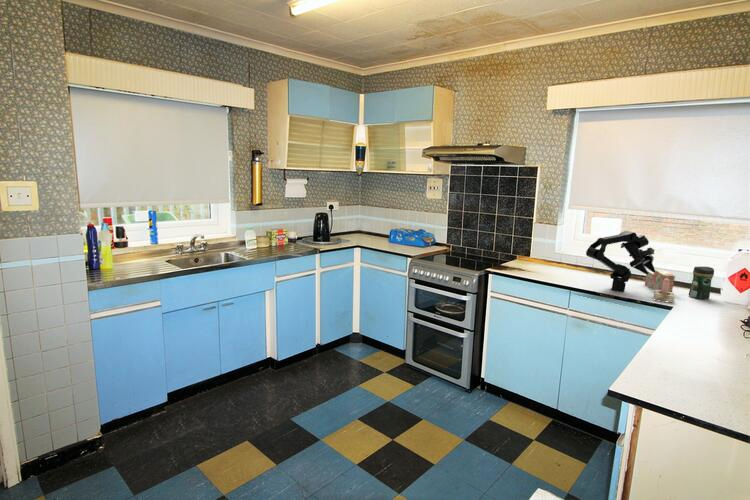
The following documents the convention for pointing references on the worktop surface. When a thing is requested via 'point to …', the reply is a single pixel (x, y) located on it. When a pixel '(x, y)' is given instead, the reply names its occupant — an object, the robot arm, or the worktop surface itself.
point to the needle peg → (665, 286)
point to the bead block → (663, 296)
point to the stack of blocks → (659, 279)
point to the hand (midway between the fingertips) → (651, 273)
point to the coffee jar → (701, 282)
